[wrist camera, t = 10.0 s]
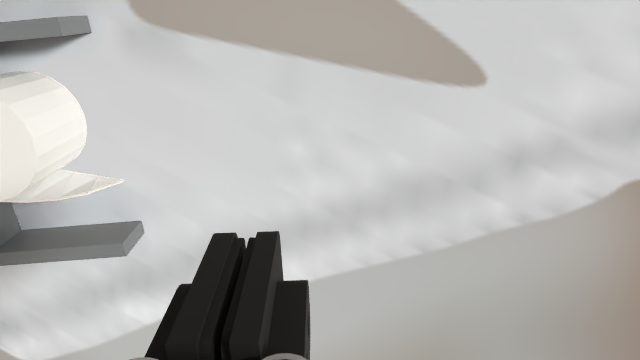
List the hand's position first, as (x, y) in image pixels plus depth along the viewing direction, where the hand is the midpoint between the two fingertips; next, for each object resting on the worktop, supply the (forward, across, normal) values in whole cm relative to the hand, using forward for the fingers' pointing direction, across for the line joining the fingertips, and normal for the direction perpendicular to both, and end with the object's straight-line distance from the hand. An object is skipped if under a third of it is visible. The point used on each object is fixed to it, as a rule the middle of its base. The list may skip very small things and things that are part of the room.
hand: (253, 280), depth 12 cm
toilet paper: (+26, +20, +4) cm, 33 cm away
